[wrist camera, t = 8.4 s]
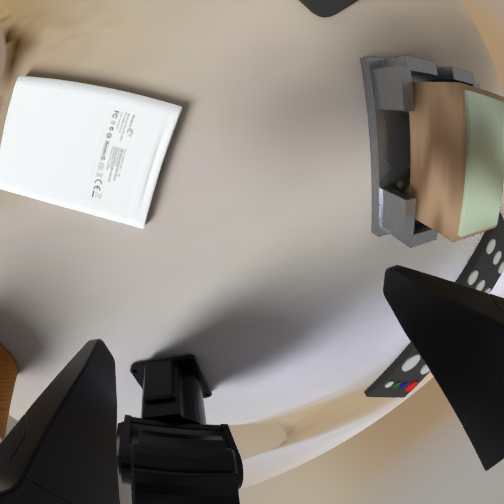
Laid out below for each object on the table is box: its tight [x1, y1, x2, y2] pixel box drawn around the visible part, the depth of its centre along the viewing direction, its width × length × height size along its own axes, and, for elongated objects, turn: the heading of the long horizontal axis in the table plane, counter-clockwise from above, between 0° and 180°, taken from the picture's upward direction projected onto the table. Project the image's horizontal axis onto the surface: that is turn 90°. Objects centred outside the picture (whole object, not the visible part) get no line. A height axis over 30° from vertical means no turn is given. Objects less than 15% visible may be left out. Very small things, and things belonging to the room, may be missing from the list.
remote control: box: [364, 213, 504, 397], centre depth 31 cm, size 11×30×2 cm, turn 150°
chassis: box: [360, 56, 479, 248], centre depth 18 cm, size 14×10×4 cm
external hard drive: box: [0, 76, 183, 229], centre depth 15 cm, size 2×8×12 cm
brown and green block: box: [409, 82, 504, 242], centre depth 15 cm, size 10×6×5 cm, turn 8°
